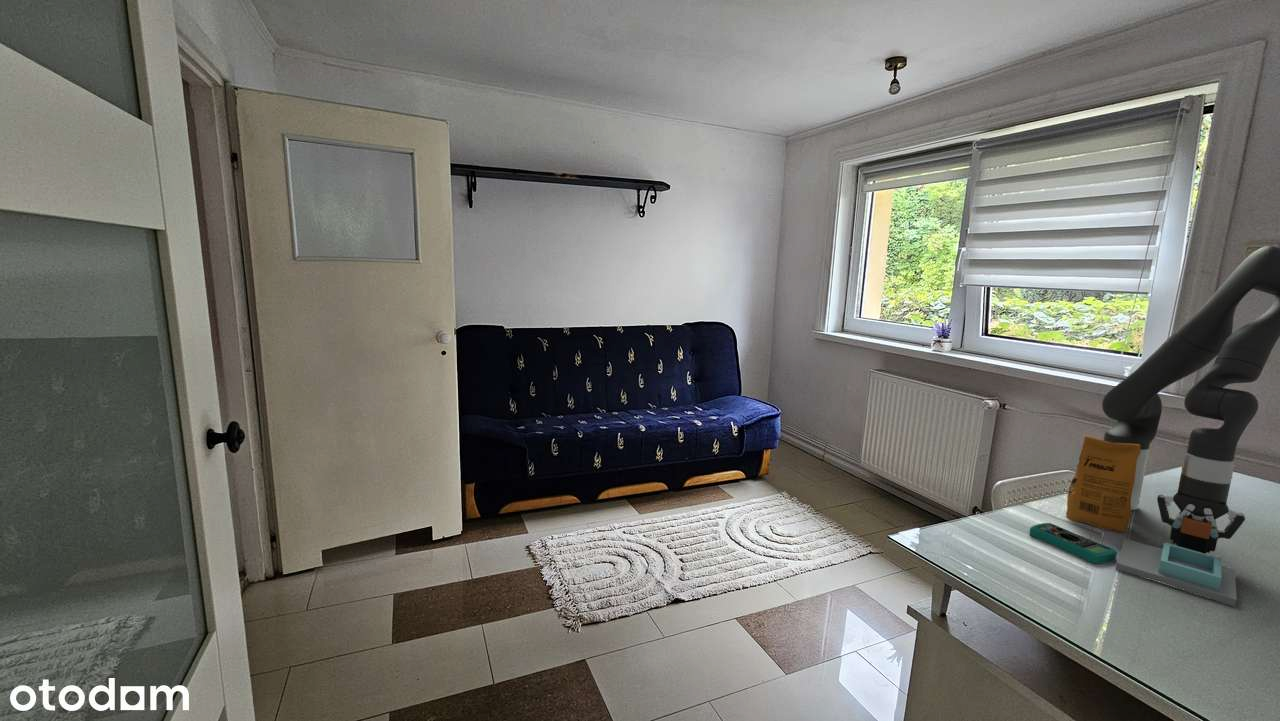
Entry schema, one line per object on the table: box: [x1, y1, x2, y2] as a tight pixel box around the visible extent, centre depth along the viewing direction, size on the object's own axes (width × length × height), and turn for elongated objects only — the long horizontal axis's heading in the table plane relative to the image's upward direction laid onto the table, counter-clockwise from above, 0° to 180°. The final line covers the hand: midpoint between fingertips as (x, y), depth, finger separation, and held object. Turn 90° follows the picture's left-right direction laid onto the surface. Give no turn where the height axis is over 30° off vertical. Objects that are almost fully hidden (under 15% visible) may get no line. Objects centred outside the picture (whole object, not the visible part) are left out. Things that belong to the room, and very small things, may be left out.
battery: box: [1175, 514, 1212, 554], centre depth 117 cm, size 4×7×10 cm, turn 134°
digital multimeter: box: [1028, 522, 1118, 565], centre depth 120 cm, size 7×15×3 cm, turn 21°
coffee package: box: [1065, 435, 1141, 533], centre depth 132 cm, size 10×12×22 cm
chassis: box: [1115, 538, 1238, 608], centre depth 110 cm, size 17×16×4 cm
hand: (1191, 546), depth 117 cm, fingers closed on battery, 4 cm apart
